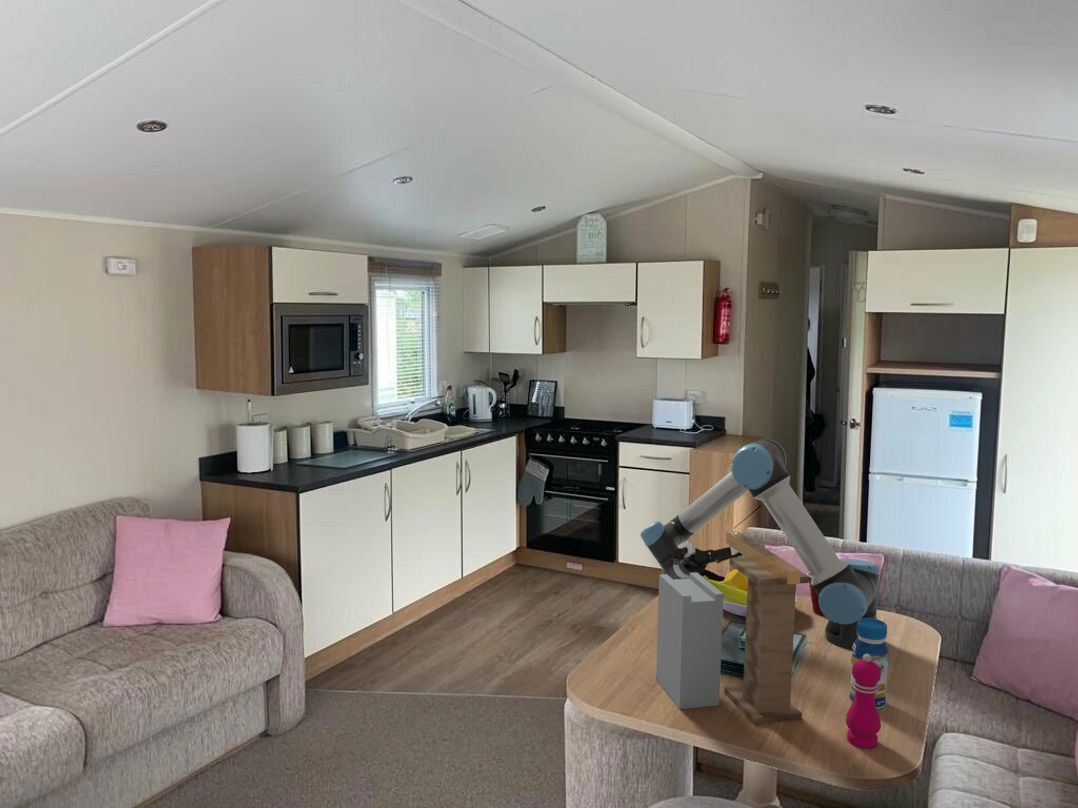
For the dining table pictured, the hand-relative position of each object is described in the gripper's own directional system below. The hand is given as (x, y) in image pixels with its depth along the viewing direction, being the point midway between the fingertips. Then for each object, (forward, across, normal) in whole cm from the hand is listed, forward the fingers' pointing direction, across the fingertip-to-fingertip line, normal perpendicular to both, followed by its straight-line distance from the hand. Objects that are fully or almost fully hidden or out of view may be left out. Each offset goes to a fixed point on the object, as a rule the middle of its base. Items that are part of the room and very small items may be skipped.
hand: (717, 545), depth 231 cm
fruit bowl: (-43, -25, -11) cm, 51 cm away
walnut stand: (+9, 0, -41) cm, 42 cm away
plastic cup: (-38, -47, -14) cm, 62 cm away
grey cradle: (0, +15, -36) cm, 39 cm away
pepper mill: (+26, -15, -51) cm, 59 cm away
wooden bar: (+22, 0, -9) cm, 24 cm away
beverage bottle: (+11, -26, -43) cm, 51 cm away
